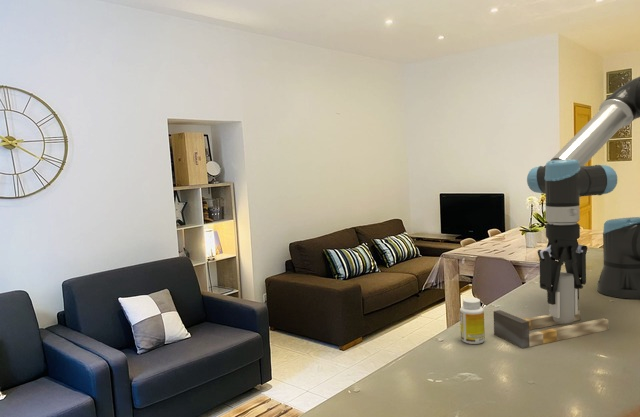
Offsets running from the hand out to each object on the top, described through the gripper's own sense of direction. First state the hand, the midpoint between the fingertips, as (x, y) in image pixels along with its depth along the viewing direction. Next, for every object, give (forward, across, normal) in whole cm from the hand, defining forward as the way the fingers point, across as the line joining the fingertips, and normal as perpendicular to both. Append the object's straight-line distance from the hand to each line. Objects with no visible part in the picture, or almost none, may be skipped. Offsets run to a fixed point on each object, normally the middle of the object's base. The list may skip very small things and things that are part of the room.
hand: (563, 314), depth 122 cm
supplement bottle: (+4, -24, +4) cm, 25 cm away
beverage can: (+2, 0, 0) cm, 2 cm away
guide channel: (+4, -3, 0) cm, 5 cm away
